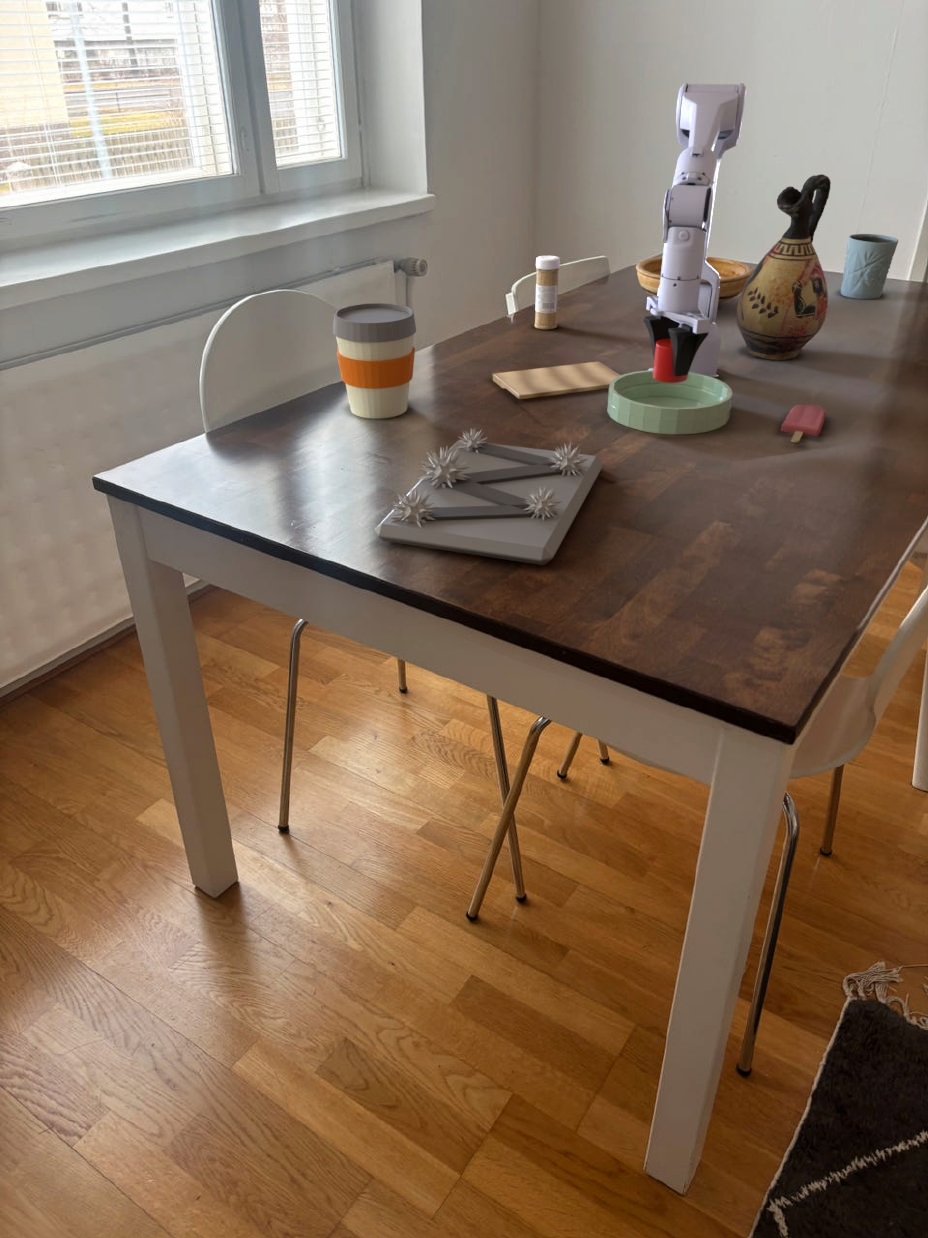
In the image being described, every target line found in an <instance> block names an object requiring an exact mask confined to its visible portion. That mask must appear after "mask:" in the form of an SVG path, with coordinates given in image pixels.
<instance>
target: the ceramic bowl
mask: <svg viewBox="0 0 928 1238" xmlns="http://www.w3.org/2000/svg"><path fill="white" fill-rule="evenodd" d="M662 258H663V256H657V257H652V258H648V259H644V260H641V261H639V262H637V264H635V265H636V266H635V269H636V271H637V272H636V274H637V279H638V282H639V285H640V286H641V288H642V289H643V290H644V292H645V293H647V295H650V296H657V294H658V289H659V285H660V278H661V268H662ZM706 262H707V263H708V264H709V265H710V266H712V267H713V268H714V269H715V270H716V271H717V272H718V273H719V277H720V293H719V301H718V304H721V303H724V302H727V301H728V300H731V299H734V298H736V297H737V296H739V295H741V293H742V290H743V288H744V285H745V283H746V281H747V280H748V278H749V276H750V275H751V273H752V271H753V270H754V269H753V268H751V266H749V265H748V264H745V263H743V262H741V261H737V260H733V259H728V258H722V257H716V256H707V258H706ZM701 284H710V283H709V282H707V281H701Z"/></svg>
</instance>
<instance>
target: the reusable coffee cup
mask: <svg viewBox="0 0 928 1238" xmlns="http://www.w3.org/2000/svg"><path fill="white" fill-rule="evenodd" d="M332 329H333V331H332V333H333V335H334V336H335V338H336V342H337V349H336V357H337V362H338V366H339V371H340V376H341V381H342V382H343V383H345V388H346V392H347V398H348V403H349V408H350V412H351V414H353V415H355V416H357V417H360V418H365V419H374V420H375V419H376V420H377V419H378V420H379V419H389V418H394V417H397V416H400V415H402V414H404V413H405V412H407V410H408V401H409V392H410V391H409V390H410V382H411V381H412V379H413V376H414V367H415V365H414V364H415V355H416V348H415V346H413V345H414V336H415V334H416V332H417V325H416V319H415V313H414V309H412V308H411V307H409V306H406V305H403V304H398V303H390V302H365V303H356V304H350V305H346V306H342V307H340V308H338V309H335V311H334V312H333V328H332Z"/></svg>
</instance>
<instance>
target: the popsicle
mask: <svg viewBox="0 0 928 1238" xmlns="http://www.w3.org/2000/svg"><path fill="white" fill-rule="evenodd" d="M826 416H827V411H826V410H825V409H824V408H823V407H820V406H818V405H814V404H796V405H795V406H793V407H792V408H791V409H790V411H789V412H788V414H787V415H786V417H785V419H784V421H783V423H782V424H781V426H780V431H781V432H785V433H792V434H793V435H792V436H791V439H790V442H791V443H794V444H797V443H800V442H801V439H802V437H803V435H805V436H813V437H819V435H820V433H821V431H822V429H823V425H824V422H825V420H826Z"/></svg>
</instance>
